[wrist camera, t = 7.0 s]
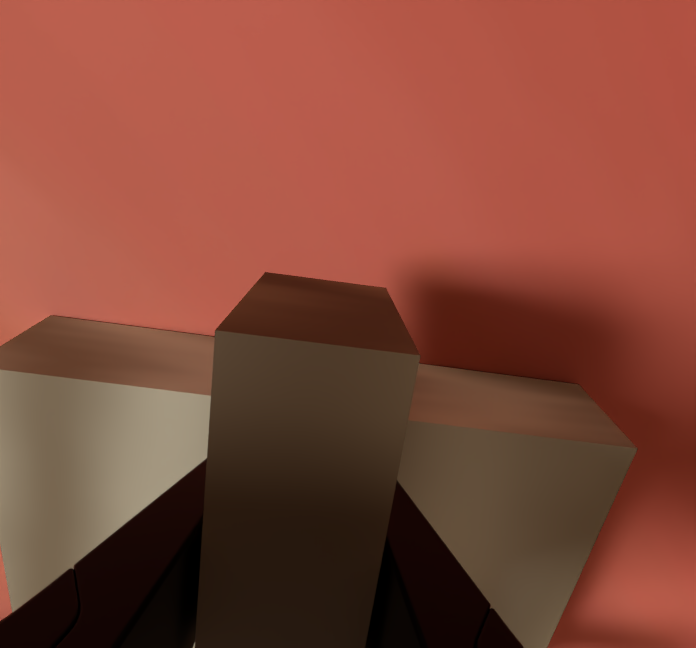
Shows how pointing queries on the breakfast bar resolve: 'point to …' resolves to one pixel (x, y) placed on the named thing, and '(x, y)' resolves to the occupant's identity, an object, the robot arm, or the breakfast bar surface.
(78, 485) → the deck
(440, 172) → the breakfast bar surface
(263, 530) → the scraper
